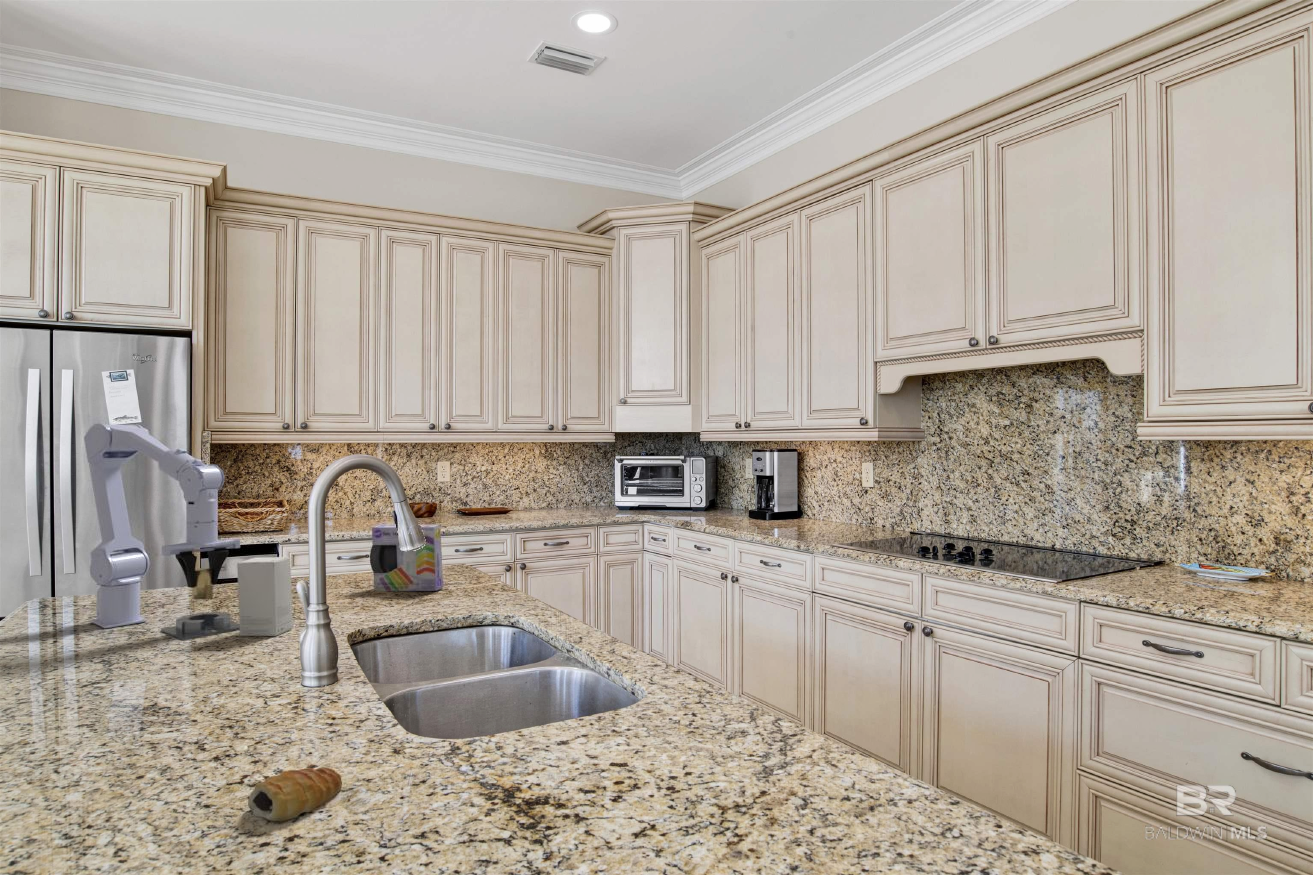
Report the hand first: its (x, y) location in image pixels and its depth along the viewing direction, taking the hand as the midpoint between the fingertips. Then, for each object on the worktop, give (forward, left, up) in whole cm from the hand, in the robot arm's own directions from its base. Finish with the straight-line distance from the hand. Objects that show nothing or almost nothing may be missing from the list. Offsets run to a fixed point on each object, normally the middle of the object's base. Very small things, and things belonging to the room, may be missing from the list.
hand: (202, 585), depth 158 cm
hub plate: (0, 0, -10) cm, 10 cm away
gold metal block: (0, 0, -3) cm, 3 cm away
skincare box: (+13, +7, -10) cm, 18 cm away
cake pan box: (-3, +51, -10) cm, 52 cm away
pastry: (+91, -24, -10) cm, 95 cm away
